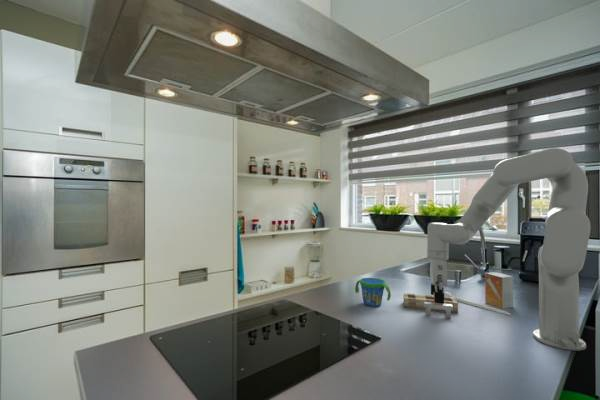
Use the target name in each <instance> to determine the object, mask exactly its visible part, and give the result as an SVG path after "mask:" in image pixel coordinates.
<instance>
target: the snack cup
mask: <svg viewBox="0 0 600 400" xmlns="http://www.w3.org/2000/svg"><path fill="white" fill-rule="evenodd" d="M359 284H360V288H361V296H362V302H363V305H365V306H369V307H373V308H374V307H380V306H381V305H382V301H383V296H384V289H385V290H386V291H387V298H386V300H387V301H390V299H391V296H392V295H391V290H390V287H389V285H388V284H386V281H385V280H383V279H382V278H377V277H376V278H375V277H362V278H361V279H359V280H358V281H356V284H355V288H354V289H355V290H354V291H355V293H356V294H359V292H360V290H359V289H360V288H359Z"/></svg>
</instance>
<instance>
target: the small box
mask: <svg viewBox="0 0 600 400" xmlns="http://www.w3.org/2000/svg"><path fill="white" fill-rule="evenodd" d="M484 279H485V280H484V281H485V285H484V286H485V289H484V291H485V292H484V293H485V295H484V296H485V297H484V302H485V303H487V304H489V305H491V306H495V307H498V308H499V307H500V308H499V309H501V310H503V309H510V308H514V276H513V275H508V274H505V273H500V272H496V271H493V272H485V278H484Z"/></svg>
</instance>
